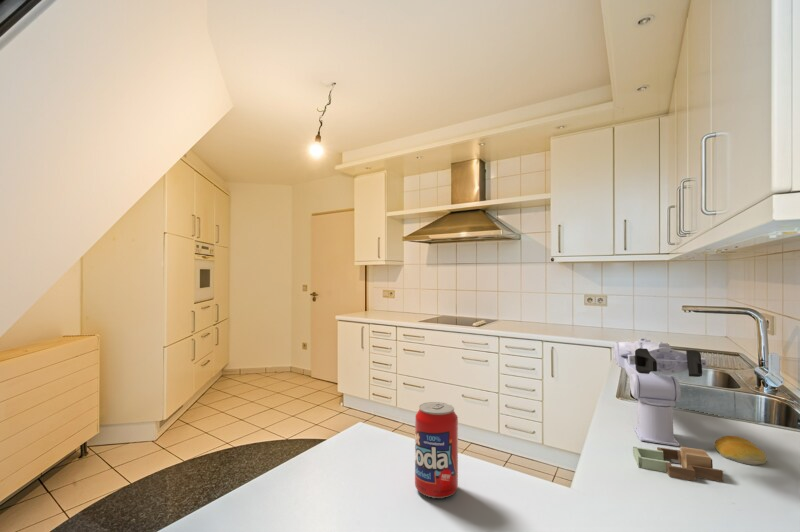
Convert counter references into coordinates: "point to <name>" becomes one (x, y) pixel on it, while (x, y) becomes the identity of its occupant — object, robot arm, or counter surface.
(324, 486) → the counter surface
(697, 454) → the oak block
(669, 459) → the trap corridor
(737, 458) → the bread roll
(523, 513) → the counter surface
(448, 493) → the soda can
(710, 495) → the counter surface
